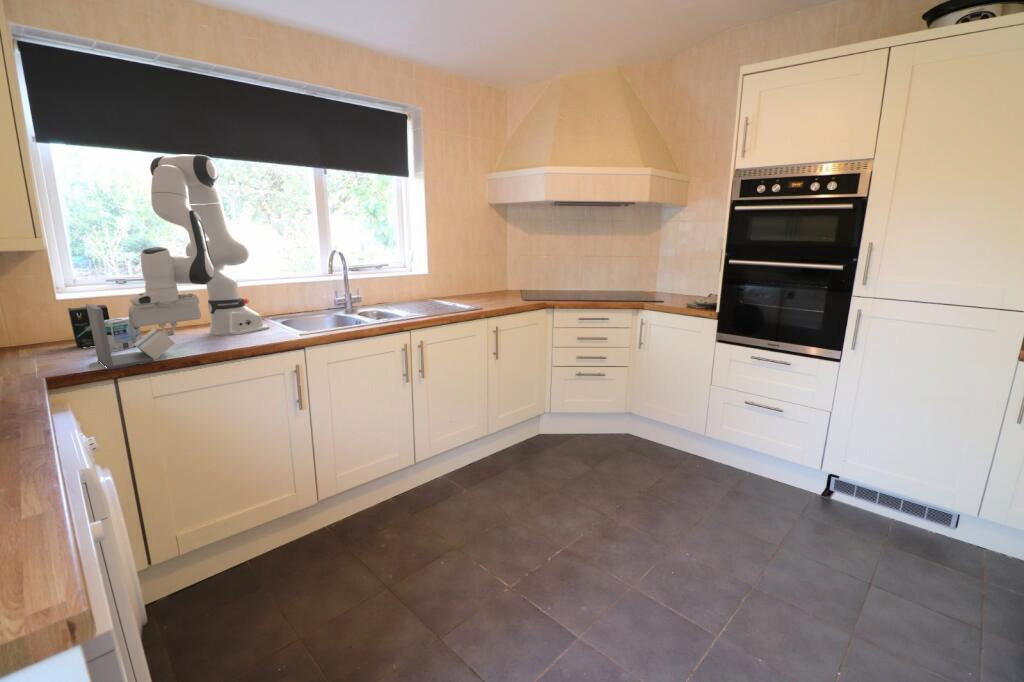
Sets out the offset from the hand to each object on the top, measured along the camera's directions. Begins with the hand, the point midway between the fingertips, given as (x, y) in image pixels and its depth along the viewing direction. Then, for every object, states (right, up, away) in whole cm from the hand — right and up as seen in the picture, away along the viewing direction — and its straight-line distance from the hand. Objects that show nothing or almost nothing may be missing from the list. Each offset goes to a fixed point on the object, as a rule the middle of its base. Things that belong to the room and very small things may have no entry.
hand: (169, 335), depth 167 cm
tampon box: (-40, -4, +17) cm, 44 cm away
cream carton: (-2, -5, -1) cm, 5 cm away
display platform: (-9, -9, -8) cm, 15 cm away
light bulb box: (-26, -5, +12) cm, 29 cm away
